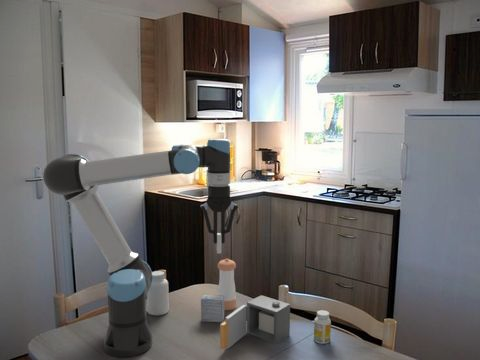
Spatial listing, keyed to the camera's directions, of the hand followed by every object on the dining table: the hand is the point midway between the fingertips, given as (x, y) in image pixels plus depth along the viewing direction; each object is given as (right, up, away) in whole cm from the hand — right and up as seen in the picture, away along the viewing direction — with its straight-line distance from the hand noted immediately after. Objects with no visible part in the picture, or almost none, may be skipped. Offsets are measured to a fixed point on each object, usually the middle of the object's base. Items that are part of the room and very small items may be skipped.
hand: (219, 252), depth 163 cm
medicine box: (-3, -26, +8) cm, 27 cm away
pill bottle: (-23, -25, +14) cm, 37 cm away
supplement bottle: (+34, -28, -7) cm, 45 cm away
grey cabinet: (+17, -27, -3) cm, 32 cm away
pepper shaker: (+2, -24, +19) cm, 31 cm away
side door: (+5, -28, -10) cm, 30 cm away
